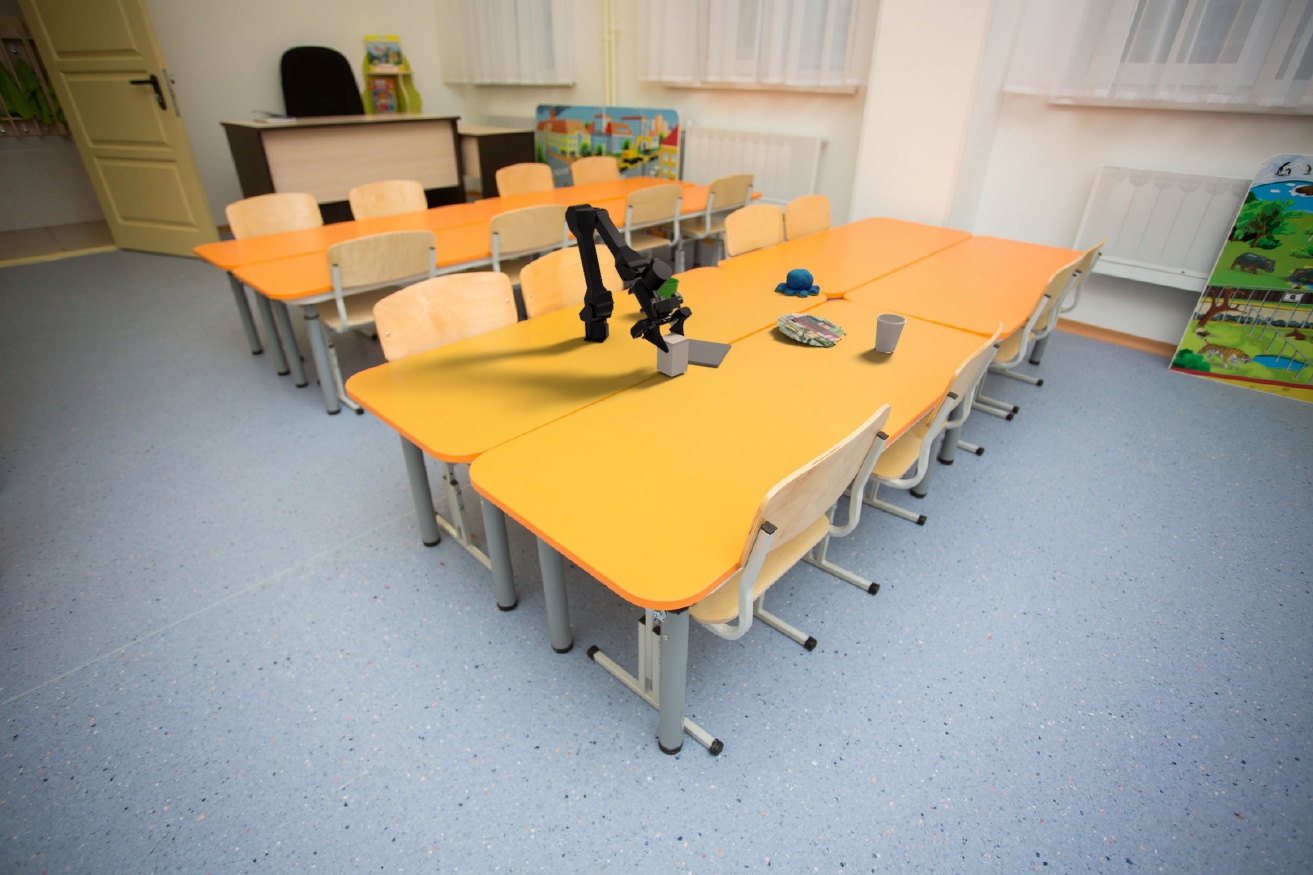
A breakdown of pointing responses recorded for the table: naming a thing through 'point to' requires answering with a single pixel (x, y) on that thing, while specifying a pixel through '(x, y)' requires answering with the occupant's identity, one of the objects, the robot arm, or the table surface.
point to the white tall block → (673, 355)
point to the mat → (707, 352)
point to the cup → (669, 288)
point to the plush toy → (798, 284)
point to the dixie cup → (888, 331)
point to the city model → (810, 329)
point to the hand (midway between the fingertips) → (676, 349)
